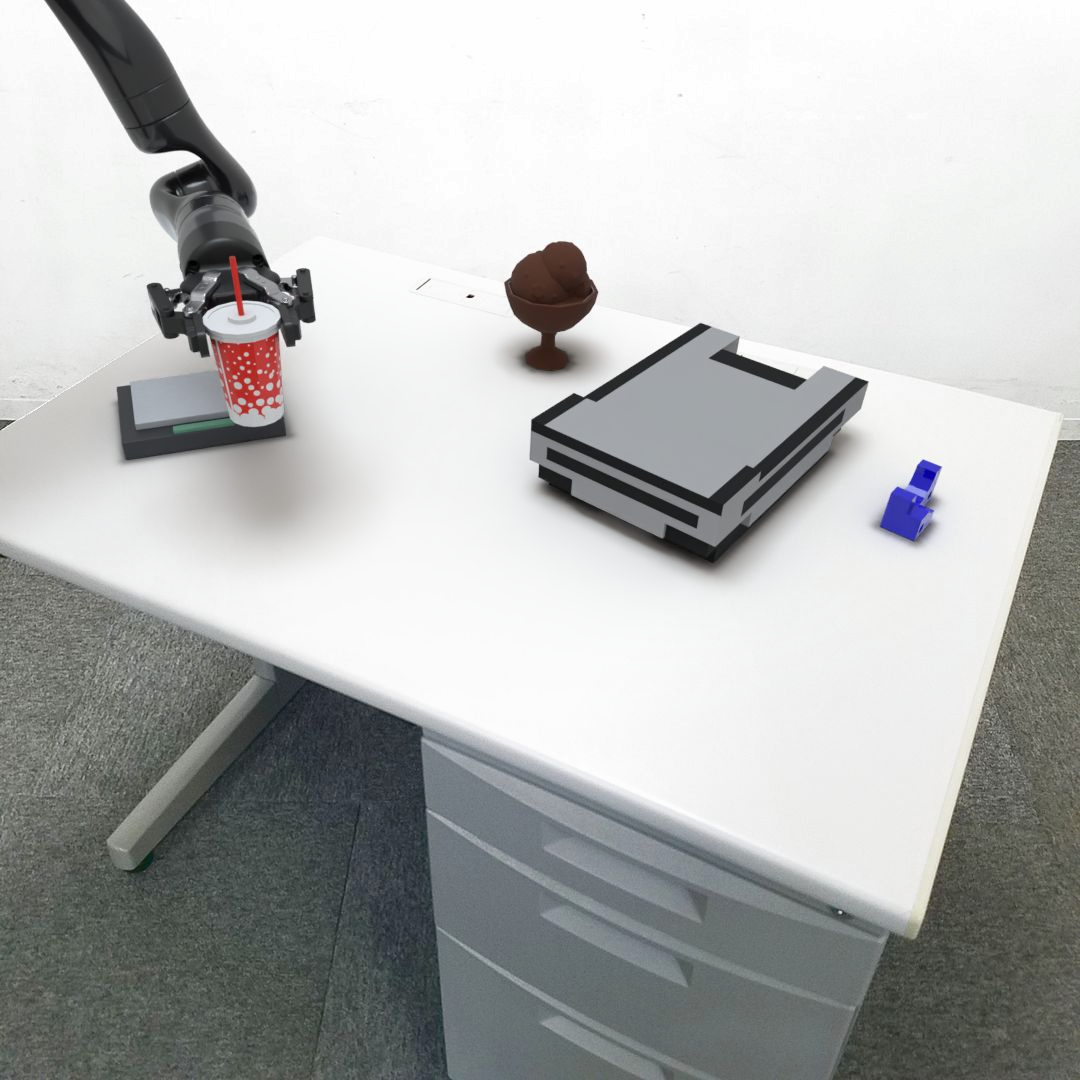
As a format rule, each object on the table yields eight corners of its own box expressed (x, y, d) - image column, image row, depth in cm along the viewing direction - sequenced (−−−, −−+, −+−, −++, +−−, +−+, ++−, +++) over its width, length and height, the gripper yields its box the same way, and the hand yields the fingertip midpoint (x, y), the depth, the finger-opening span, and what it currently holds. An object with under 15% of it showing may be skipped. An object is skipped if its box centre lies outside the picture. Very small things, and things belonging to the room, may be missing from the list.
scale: (126, 460, 97) (119, 436, 95) (120, 402, 106) (114, 379, 104) (286, 435, 102) (283, 412, 100) (268, 382, 111) (265, 360, 109)
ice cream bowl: (580, 337, 123) (589, 221, 114) (599, 379, 115) (610, 258, 105) (498, 340, 122) (500, 223, 112) (511, 383, 113) (514, 260, 104)
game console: (852, 437, 107) (871, 371, 102) (708, 578, 87) (723, 505, 81) (692, 376, 116) (702, 312, 111) (528, 490, 96) (531, 419, 91)
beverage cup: (308, 412, 84) (289, 257, 75) (250, 440, 80) (224, 280, 71) (262, 387, 87) (239, 235, 78) (205, 413, 83) (174, 257, 74)
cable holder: (914, 541, 92) (926, 507, 90) (879, 526, 94) (890, 493, 92) (944, 505, 97) (957, 472, 95) (911, 491, 99) (922, 459, 97)
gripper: (130, 226, 84) (142, 308, 72) (297, 213, 88) (334, 287, 76) (148, 306, 89) (161, 395, 77) (305, 290, 93) (341, 371, 81)
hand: (247, 341), depth 76 cm, fingers closed on beverage cup, 6 cm apart
